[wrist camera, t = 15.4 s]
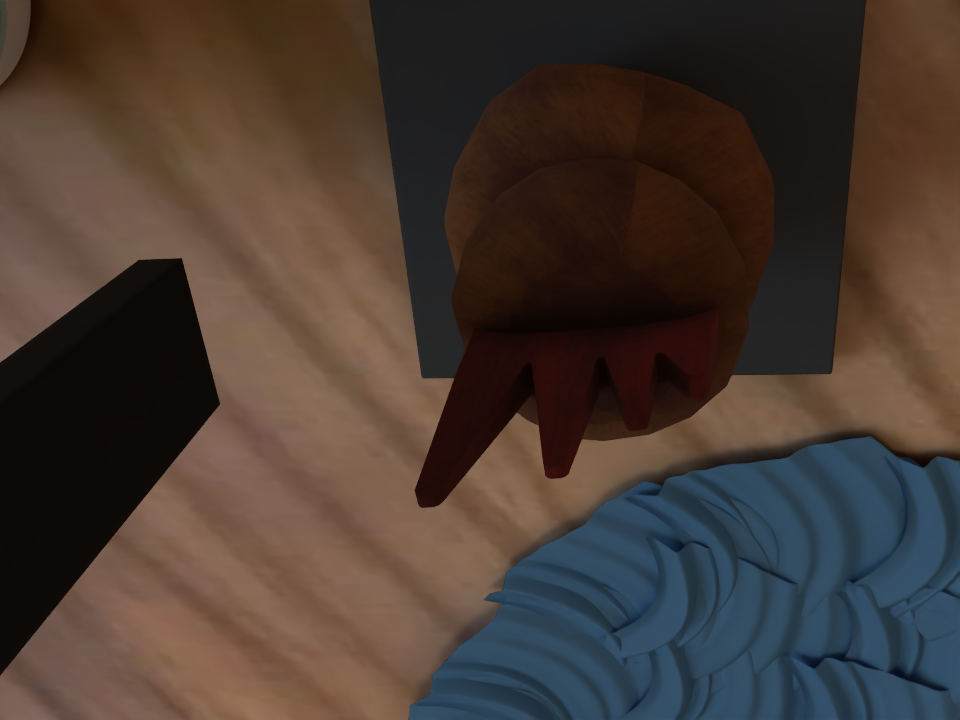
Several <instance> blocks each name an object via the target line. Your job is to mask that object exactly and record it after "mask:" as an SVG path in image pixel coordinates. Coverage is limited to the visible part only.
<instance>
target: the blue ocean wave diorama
mask: <svg viewBox="0 0 960 720" xmlns="http://www.w3.org/2000/svg"><path fill="white" fill-rule="evenodd" d="M484 600H486V601H492V602H498V603H503V604H502V605H501V607H500V608H499V610H498V612H497V614H496V616H495V618H494V619H493V621H492V622H491V623H490V624H488V625H487V626H486V627H484V628H483V629H482V630H480V631H479V632H478V633H477V634H476V635H475V636H473V637H472V638H471V639H469V640H468V641H466V642H465V643H463V644H462V645H461V646H459V647H458V648H457V649H456V650H455V652H454V653H453V654H452V656H451V657H450V658H449V659H447V660H446V661H444V662H443V664H442V665H441V666H440V668H439V669H438V670H437V671H436V672H435V673H434V674H433V676H432V685H431V694H430V696H427V697H425V698H423V699H421V701H419V702H417V703H414V704H412V705H410V713H409V720H960V461H955V460H952V459H948V458H944V457H935V458H934V459H932V460H931V461H930V463H929V464H928V465H927V466H925V467H922V466H920V465H919V464H918V463H916V462H915V461H913V460H912V459H911V458H909V457H897V456H895V455H894V454H893V453H891V452H890V451H889V450H888V449H887V448H886V447H884V446H883V445H882V444H880V443H879V442H878V441H877V440H875V439H874V438H873V437H871V436H869V437H865V438H856V439H847V440H841V441H837V442H833V443H825V444H816V445H811V446H807V447H804V448H801V449H800V450H798V451H797V452H795V453H794V454H793V455H791V456H789V457H787V458H784V459H773V460H764V461H758V462H753V463H742V464H729V465H723V466H718V467H715V468H711V469H708V470H694V471H690V472H688V473H686V474H684V475H681V476H674V477H670V478H667V479H666V480H665V482H664V484H663V485H659V484H656V483H652V482H648V481H644V482H642V483H641V484H639V485H637V486H635V487H633V488H631V489H629V490H627V491H625V492H624V493H622V494H620V495H619V496H617V497H616V498H614V499H613V500H611V501H608V502H607V503H605V504H603V505H602V506H601V507H599V508H598V509H597V510H596V511H595V512H594V514H593V515H592V516H591V518H590V519H589V520H588V522H587V523H586V524H585V525H583V526H581V527H579V528H577V529H575V530H573V531H571V532H569V533H567V534H566V535H564V536H562V537H561V538H559V539H556V540H554V541H552V542H549V543H547V544H545V545H543V546H542V547H540V548H539V549H537V550H536V551H535V552H534V553H533V554H531V555H530V556H528V557H525V558H523V559H522V560H521V561H519V562H518V563H517V564H516V565H515V566H514V567H512V568H510V569H509V570H508V571H507V572H506V576H505V581H504V586H503V589H502V591H499V592H494V593H491V594H489V595H488V596H487V597H486V598H485V599H484Z"/></svg>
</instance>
